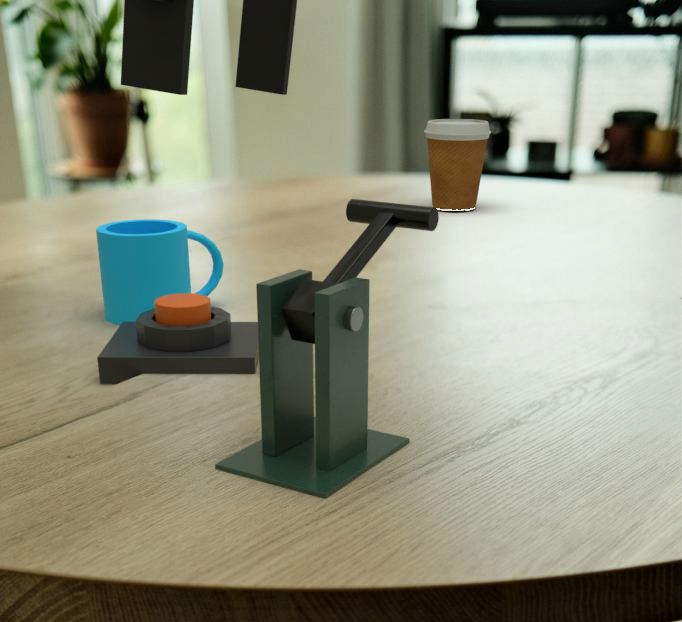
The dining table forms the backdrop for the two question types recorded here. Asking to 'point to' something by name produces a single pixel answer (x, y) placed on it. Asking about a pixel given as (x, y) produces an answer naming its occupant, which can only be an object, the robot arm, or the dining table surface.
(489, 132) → the disposable coffee cup
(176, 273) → the mug
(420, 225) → the switch lever
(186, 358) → the control block
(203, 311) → the button
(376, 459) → the green crank press stand
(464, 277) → the dining table surface
